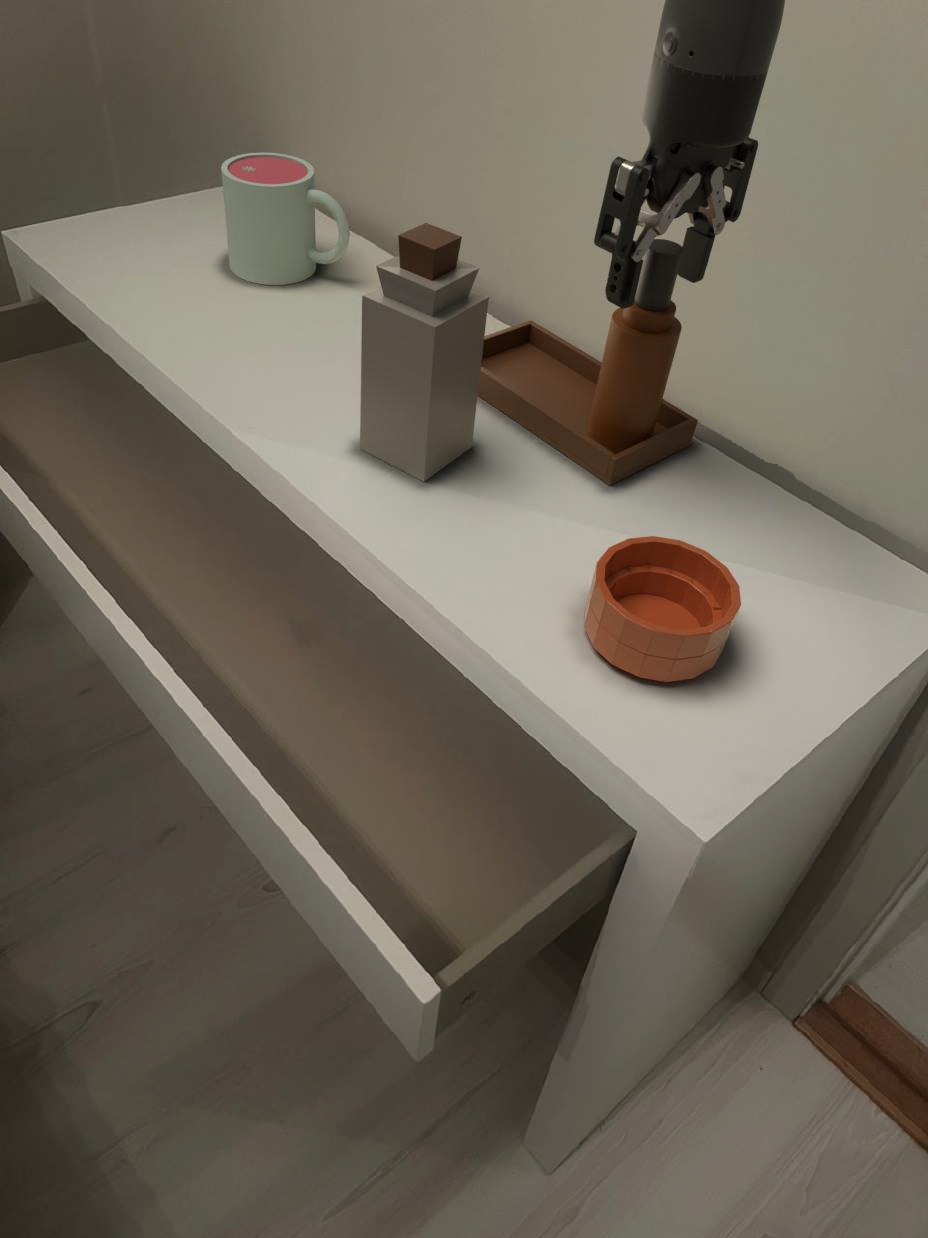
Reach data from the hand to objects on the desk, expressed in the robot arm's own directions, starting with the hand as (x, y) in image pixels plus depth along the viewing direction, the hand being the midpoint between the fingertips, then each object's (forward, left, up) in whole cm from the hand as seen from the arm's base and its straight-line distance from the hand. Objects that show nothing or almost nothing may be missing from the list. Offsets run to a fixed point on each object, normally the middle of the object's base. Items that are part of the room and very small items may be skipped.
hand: (654, 290), depth 72 cm
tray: (+5, -5, -14) cm, 16 cm away
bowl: (-3, +23, -14) cm, 28 cm away
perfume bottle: (+17, +5, -14) cm, 23 cm away
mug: (+36, -24, -14) cm, 45 cm away
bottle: (0, 0, -13) cm, 13 cm away
